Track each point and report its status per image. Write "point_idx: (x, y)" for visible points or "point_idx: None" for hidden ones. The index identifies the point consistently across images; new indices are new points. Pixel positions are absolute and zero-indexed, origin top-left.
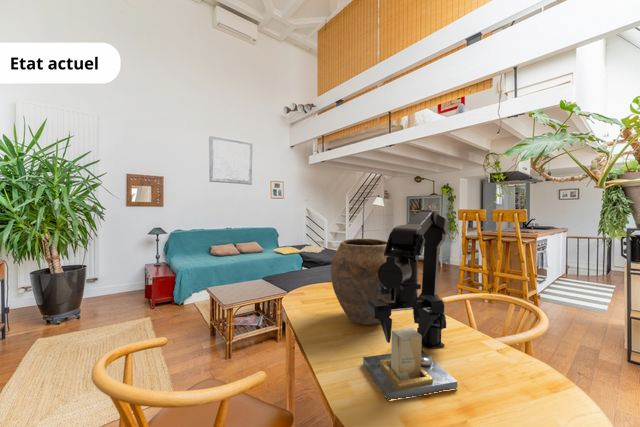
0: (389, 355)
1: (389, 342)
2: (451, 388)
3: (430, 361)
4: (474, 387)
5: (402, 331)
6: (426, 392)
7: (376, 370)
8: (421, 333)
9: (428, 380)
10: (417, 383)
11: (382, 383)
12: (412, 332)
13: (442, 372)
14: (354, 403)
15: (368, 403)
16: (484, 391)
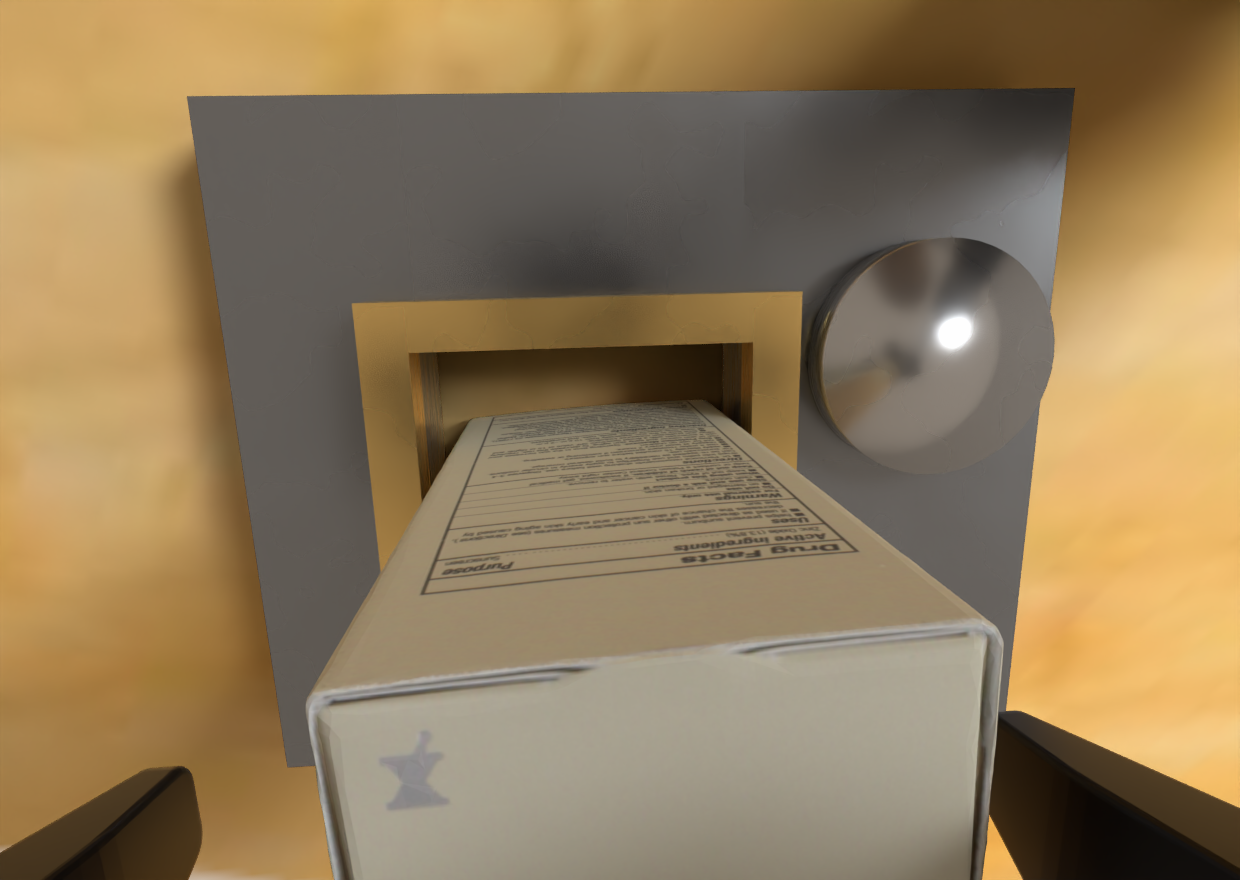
0: (574, 140)
1: (190, 856)
2: None
3: (968, 456)
4: (1118, 673)
5: (593, 802)
6: None
7: (284, 420)
8: (1046, 862)
9: None
10: None
11: (277, 636)
12: (838, 866)
13: (974, 582)
14: (11, 687)
15: (138, 704)
16: (1149, 724)
